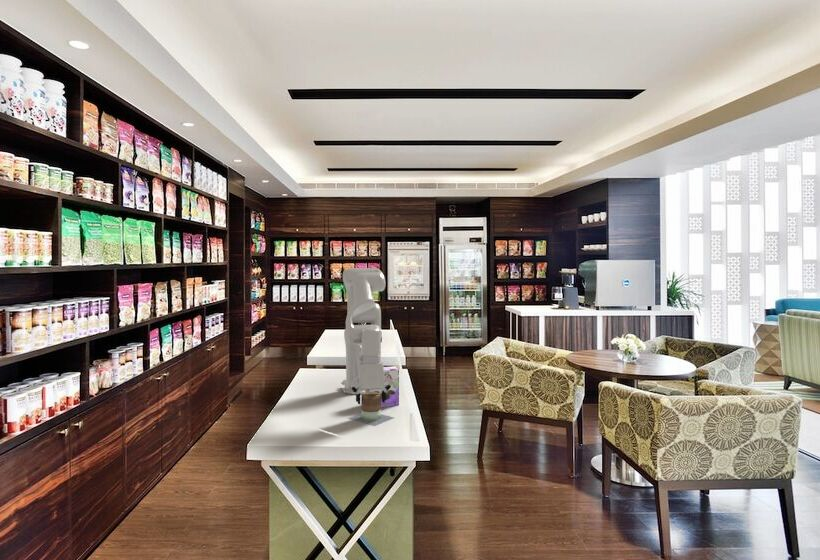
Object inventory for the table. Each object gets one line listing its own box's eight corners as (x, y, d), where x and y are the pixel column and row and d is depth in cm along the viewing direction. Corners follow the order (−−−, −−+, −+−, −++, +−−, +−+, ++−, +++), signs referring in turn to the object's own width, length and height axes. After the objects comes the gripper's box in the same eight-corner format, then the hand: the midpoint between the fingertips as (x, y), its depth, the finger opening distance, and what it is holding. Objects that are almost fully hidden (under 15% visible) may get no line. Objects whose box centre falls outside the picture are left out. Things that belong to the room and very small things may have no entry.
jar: (357, 418, 182) (357, 400, 182) (370, 413, 188) (370, 396, 188) (371, 422, 178) (371, 404, 177) (384, 417, 184) (384, 399, 183)
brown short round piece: (363, 412, 178) (363, 397, 178) (360, 407, 185) (360, 392, 185) (382, 411, 181) (382, 395, 180) (378, 405, 188) (378, 390, 187)
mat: (347, 419, 182) (347, 418, 182) (368, 412, 192) (368, 410, 192) (374, 427, 174) (374, 426, 174) (394, 419, 184) (394, 417, 184)
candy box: (367, 409, 196) (367, 370, 195) (365, 405, 202) (365, 367, 201) (399, 406, 200) (399, 368, 199) (396, 402, 205) (396, 365, 205)
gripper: (349, 362, 176) (350, 406, 177) (394, 360, 180) (394, 404, 181) (348, 358, 184) (348, 401, 184) (391, 356, 188) (391, 398, 188)
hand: (371, 402), depth 183 cm, fingers open, 9 cm apart
